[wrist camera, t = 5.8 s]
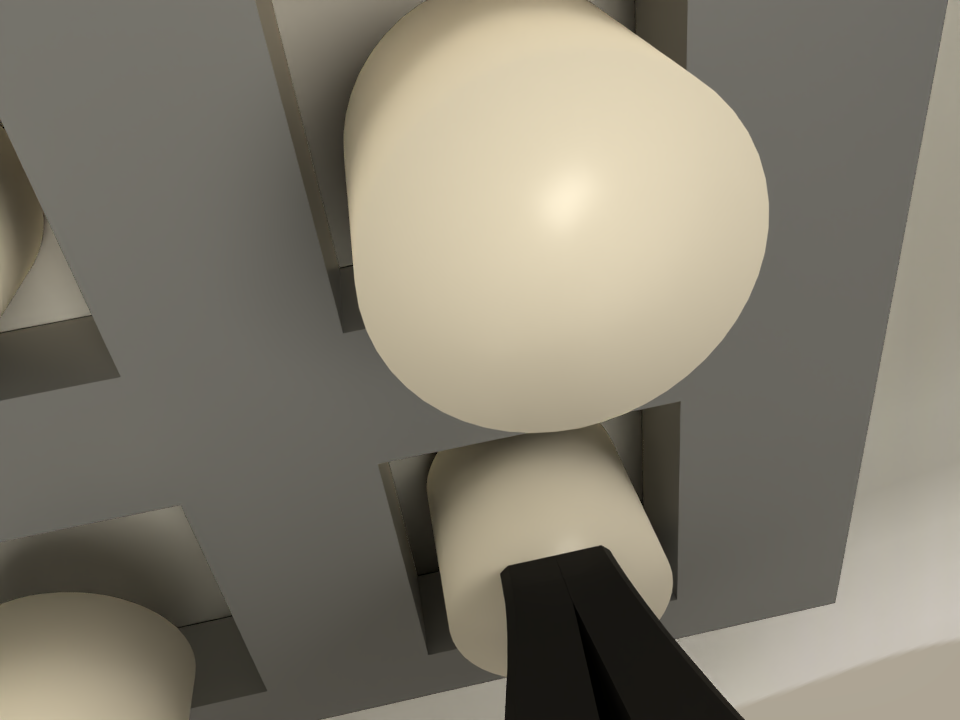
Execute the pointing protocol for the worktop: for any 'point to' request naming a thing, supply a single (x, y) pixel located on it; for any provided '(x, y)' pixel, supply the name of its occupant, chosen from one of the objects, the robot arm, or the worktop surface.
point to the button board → (362, 372)
